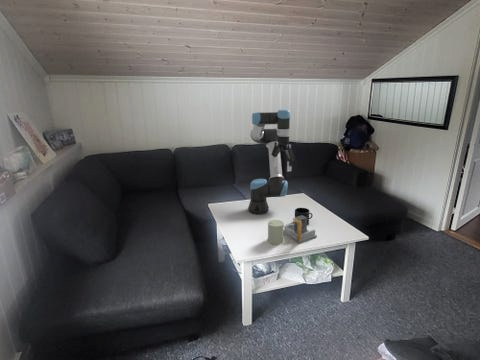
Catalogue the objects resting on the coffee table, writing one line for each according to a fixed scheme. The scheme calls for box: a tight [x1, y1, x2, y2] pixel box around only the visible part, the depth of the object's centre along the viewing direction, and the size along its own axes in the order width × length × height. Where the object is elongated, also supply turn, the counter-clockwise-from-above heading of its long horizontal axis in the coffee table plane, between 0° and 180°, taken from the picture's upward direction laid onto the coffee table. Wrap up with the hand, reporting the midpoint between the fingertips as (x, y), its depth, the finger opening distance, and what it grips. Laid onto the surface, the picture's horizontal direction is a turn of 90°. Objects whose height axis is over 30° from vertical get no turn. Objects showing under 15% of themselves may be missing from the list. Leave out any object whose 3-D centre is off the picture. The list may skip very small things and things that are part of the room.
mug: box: [294, 207, 313, 226], centre depth 195 cm, size 9×12×9 cm
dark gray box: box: [293, 215, 308, 234], centre depth 178 cm, size 5×6×10 cm
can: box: [267, 219, 285, 246], centre depth 172 cm, size 9×9×12 cm
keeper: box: [283, 217, 318, 244], centre depth 178 cm, size 16×14×14 cm
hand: (282, 168), depth 188 cm, fingers open, 13 cm apart
